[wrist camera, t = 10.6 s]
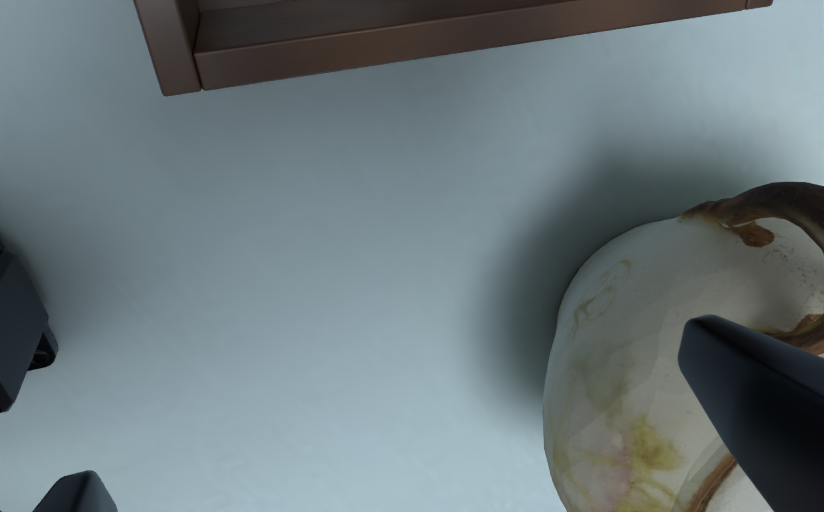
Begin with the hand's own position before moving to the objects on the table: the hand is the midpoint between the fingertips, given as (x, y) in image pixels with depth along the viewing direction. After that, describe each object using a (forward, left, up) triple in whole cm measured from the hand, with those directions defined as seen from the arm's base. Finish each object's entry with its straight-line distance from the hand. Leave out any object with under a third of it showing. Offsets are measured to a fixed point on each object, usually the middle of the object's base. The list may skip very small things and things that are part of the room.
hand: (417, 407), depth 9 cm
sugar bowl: (+13, -10, -12) cm, 20 cm away
